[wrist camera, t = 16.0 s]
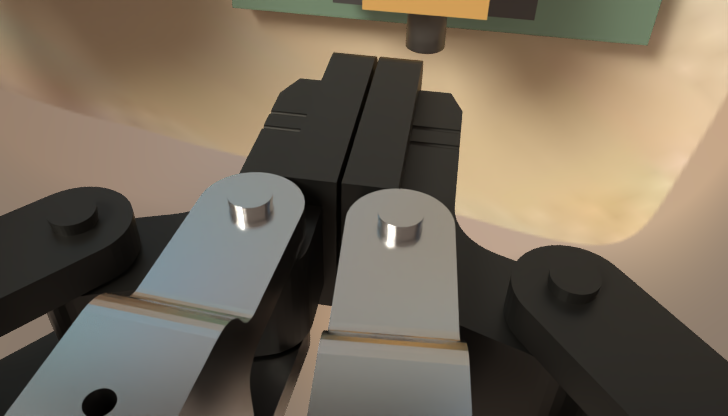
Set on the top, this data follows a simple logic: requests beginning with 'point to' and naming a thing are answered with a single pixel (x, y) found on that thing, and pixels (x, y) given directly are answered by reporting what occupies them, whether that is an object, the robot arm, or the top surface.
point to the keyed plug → (429, 18)
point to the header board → (509, 16)
